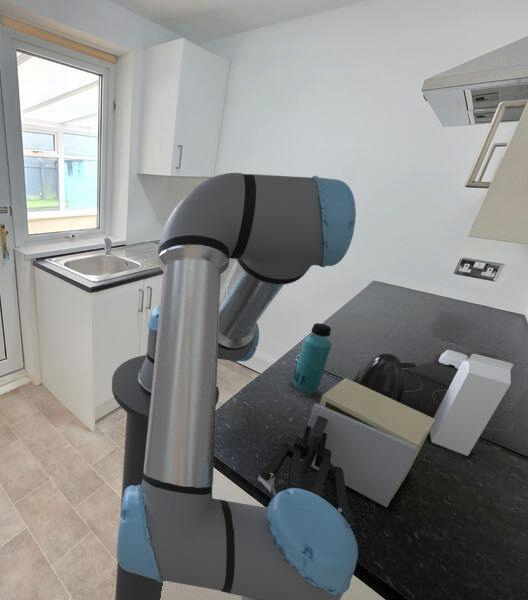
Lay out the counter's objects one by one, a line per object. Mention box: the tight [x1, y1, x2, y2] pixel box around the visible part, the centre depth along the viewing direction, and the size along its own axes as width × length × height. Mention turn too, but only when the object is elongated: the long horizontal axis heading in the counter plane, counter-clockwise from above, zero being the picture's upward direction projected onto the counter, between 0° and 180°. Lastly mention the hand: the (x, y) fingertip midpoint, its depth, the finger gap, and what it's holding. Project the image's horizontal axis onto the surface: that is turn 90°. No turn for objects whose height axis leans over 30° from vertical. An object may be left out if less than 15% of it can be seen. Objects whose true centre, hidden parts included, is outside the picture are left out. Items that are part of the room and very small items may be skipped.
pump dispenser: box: [352, 352, 417, 403], centre depth 80 cm, size 10×10×15 cm
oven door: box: [300, 402, 417, 508], centre depth 55 cm, size 7×15×14 cm, turn 49°
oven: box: [318, 377, 436, 499], centre depth 62 cm, size 11×15×14 cm
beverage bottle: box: [291, 322, 332, 393], centre depth 83 cm, size 6×7×20 cm
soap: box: [438, 349, 469, 370], centre depth 104 cm, size 9×7×3 cm
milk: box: [429, 353, 514, 457], centre depth 67 cm, size 6×6×22 cm
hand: (314, 435), depth 60 cm, fingers closed on oven door, 2 cm apart
